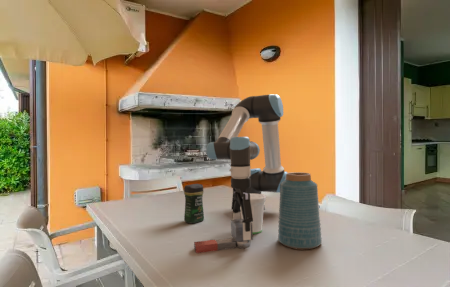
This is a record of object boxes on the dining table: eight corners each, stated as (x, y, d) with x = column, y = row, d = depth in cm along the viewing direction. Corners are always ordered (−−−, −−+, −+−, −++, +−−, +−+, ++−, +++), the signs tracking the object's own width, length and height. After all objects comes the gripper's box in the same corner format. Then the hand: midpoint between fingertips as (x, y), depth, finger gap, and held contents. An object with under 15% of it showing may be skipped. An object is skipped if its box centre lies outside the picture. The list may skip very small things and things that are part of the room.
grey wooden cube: (247, 233, 107) (246, 218, 107) (252, 239, 101) (252, 223, 101) (231, 235, 106) (231, 219, 106) (236, 241, 100) (235, 224, 100)
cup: (268, 227, 124) (268, 194, 124) (263, 236, 112) (263, 199, 112) (242, 225, 128) (241, 192, 128) (234, 233, 116) (234, 198, 116)
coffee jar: (191, 225, 130) (191, 186, 130) (181, 221, 135) (181, 184, 135) (206, 220, 137) (206, 183, 137) (196, 217, 142) (196, 182, 142)
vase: (315, 254, 94) (314, 177, 94) (271, 245, 103) (270, 175, 102) (326, 239, 108) (324, 172, 107) (286, 232, 116) (285, 170, 116)
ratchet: (246, 241, 107) (246, 224, 107) (252, 247, 101) (251, 228, 101) (193, 247, 102) (193, 229, 102) (196, 254, 96) (195, 234, 96)
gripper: (223, 174, 114) (224, 225, 114) (240, 182, 91) (242, 246, 91) (240, 173, 116) (241, 224, 116) (261, 181, 93) (262, 244, 93)
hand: (241, 234), depth 104 cm, fingers open, 11 cm apart
